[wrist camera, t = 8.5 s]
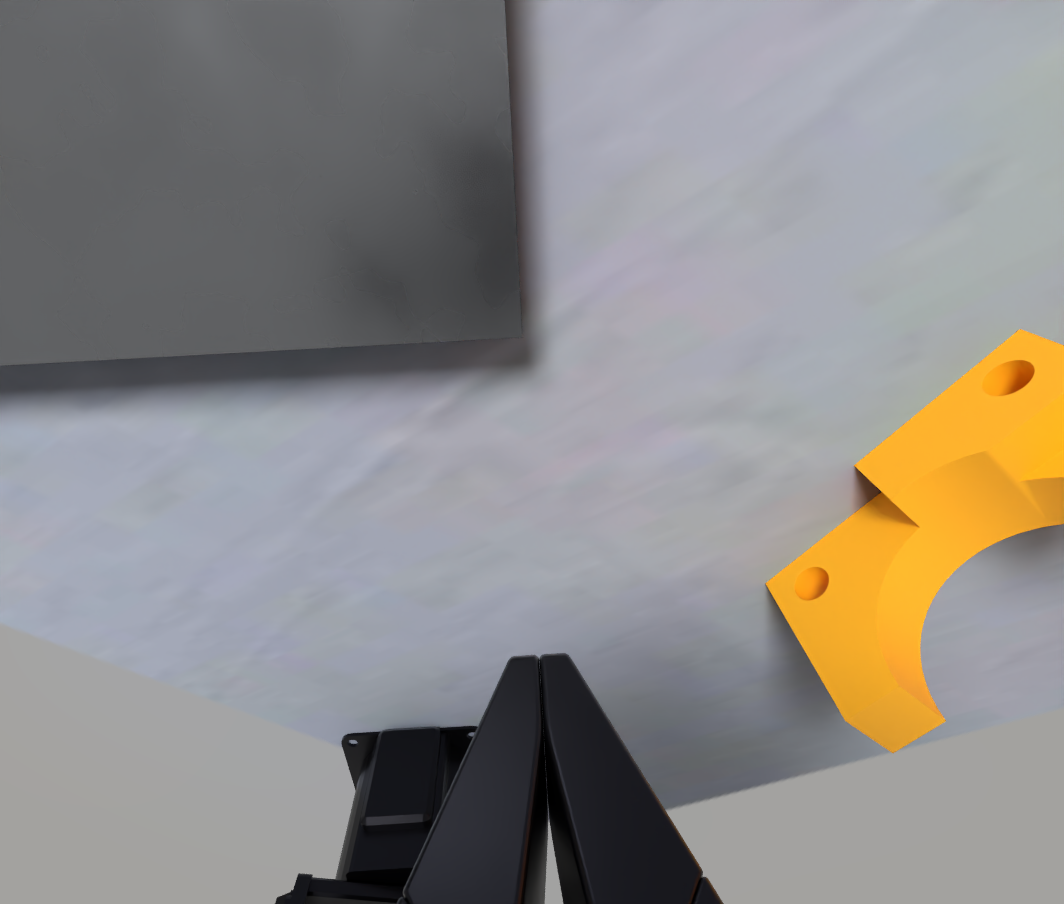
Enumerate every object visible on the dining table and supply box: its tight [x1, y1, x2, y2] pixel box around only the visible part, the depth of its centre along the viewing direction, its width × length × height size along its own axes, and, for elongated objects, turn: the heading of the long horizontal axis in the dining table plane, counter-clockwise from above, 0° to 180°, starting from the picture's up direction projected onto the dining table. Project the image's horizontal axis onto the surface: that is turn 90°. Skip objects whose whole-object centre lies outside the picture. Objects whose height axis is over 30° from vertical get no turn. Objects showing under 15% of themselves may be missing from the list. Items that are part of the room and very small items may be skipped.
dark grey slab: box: [0, 0, 522, 366], centre depth 14 cm, size 12×24×2 cm, turn 92°
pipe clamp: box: [765, 329, 1064, 753], centre depth 19 cm, size 12×4×6 cm, turn 140°
